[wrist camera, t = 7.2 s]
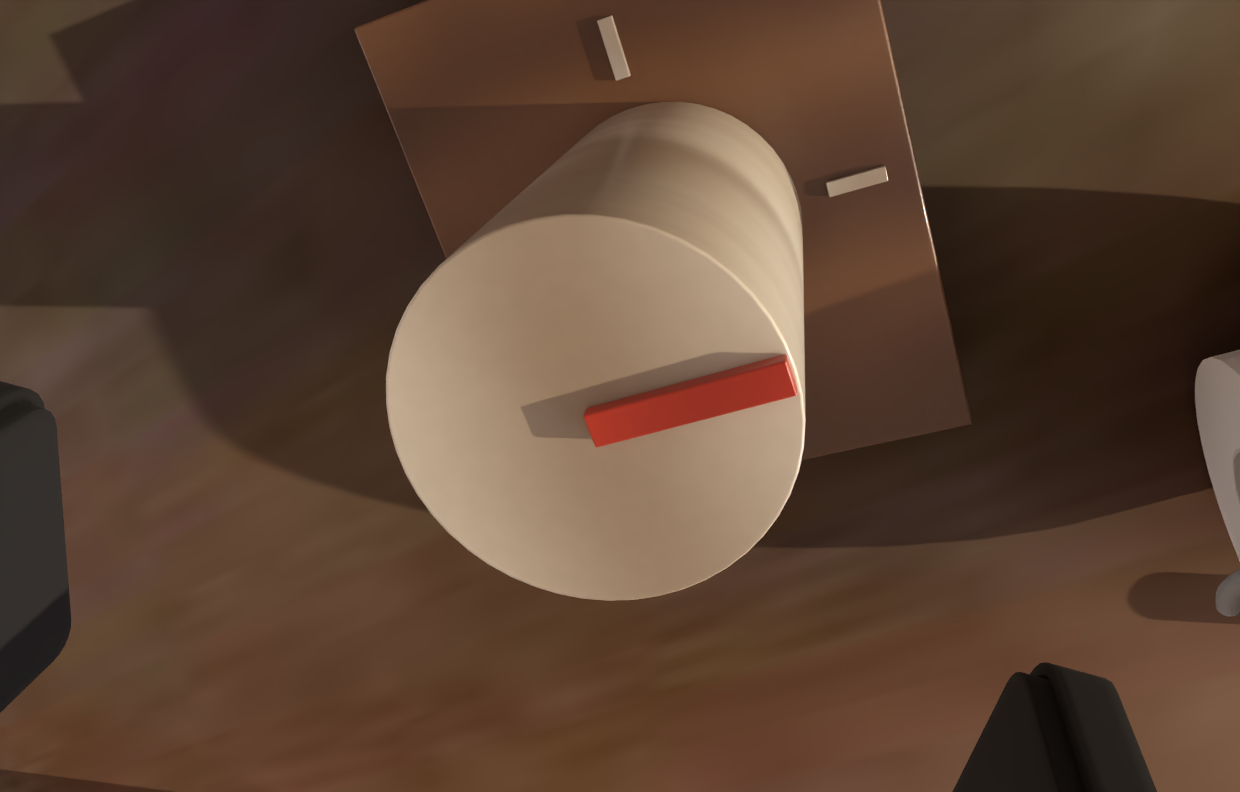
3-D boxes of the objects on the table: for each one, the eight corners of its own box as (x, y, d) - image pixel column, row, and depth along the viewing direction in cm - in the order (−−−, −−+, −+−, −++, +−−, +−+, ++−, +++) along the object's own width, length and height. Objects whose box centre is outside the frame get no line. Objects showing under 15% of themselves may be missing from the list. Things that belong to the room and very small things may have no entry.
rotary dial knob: (599, 379, 27) (477, 645, 17) (509, 152, 25) (305, 297, 14) (833, 314, 25) (857, 567, 15) (757, 61, 23) (726, 155, 13)
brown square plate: (396, 19, 27) (349, 28, 24) (840, -148, 23) (846, -161, 21) (569, 466, 32) (546, 517, 29) (956, 379, 28) (974, 427, 25)
